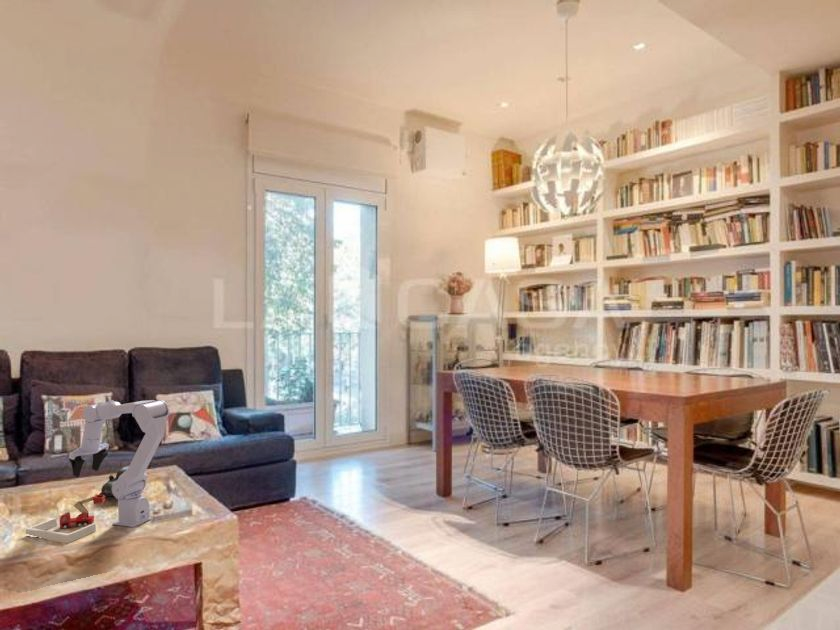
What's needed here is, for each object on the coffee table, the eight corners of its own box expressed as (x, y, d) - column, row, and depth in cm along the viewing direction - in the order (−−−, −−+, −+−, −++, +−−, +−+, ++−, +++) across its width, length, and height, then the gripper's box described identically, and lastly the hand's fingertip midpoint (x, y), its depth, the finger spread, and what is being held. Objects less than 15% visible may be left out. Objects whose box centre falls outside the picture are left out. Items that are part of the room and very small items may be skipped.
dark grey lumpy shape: (97, 496, 231) (111, 461, 237) (129, 503, 236) (142, 468, 242) (100, 494, 219) (114, 457, 225) (133, 502, 224) (147, 465, 230)
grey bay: (95, 531, 195) (95, 523, 195) (68, 543, 185) (68, 535, 185) (54, 525, 201) (54, 518, 201) (26, 536, 192) (25, 528, 192)
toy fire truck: (61, 526, 201) (60, 497, 200) (106, 520, 204) (104, 493, 204) (58, 529, 197) (57, 501, 197) (103, 524, 201) (102, 496, 201)
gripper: (101, 428, 216) (95, 463, 217) (65, 437, 202) (58, 474, 204) (115, 435, 213) (109, 470, 215) (79, 444, 200) (73, 481, 201)
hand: (85, 472), depth 209 cm, fingers open, 7 cm apart
